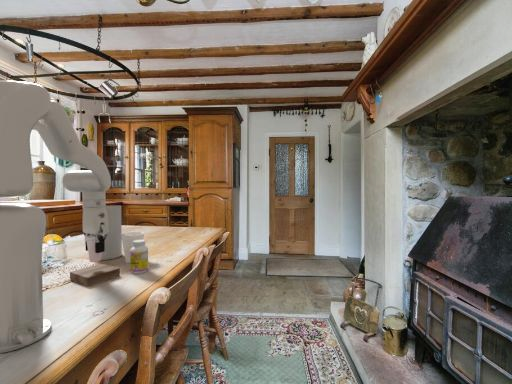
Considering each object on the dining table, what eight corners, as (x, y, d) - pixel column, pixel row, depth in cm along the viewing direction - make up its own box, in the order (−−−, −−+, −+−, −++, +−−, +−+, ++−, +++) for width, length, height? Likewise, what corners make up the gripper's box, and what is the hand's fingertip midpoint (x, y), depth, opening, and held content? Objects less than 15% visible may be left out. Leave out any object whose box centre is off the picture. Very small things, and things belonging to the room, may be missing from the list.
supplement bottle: (126, 272, 106) (126, 241, 105) (140, 268, 112) (140, 238, 111) (137, 275, 103) (137, 243, 102) (151, 270, 109) (151, 240, 108)
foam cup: (119, 260, 122) (119, 233, 122) (140, 257, 128) (139, 231, 128) (125, 265, 115) (125, 236, 115) (146, 261, 121) (146, 233, 121)
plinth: (119, 275, 102) (119, 268, 102) (87, 286, 92) (87, 277, 92) (102, 270, 108) (102, 263, 108) (70, 279, 98) (69, 272, 97)
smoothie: (95, 263, 96) (95, 226, 96) (81, 262, 97) (80, 225, 97) (108, 258, 102) (108, 223, 102) (95, 257, 104) (94, 222, 103)
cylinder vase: (127, 255, 130) (126, 206, 130) (101, 262, 120) (100, 208, 119) (112, 252, 137) (112, 205, 136) (87, 258, 126) (86, 207, 125)
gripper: (117, 204, 98) (118, 252, 99) (91, 202, 106) (92, 246, 107) (97, 206, 91) (97, 256, 92) (71, 204, 100) (72, 250, 101)
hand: (95, 250), depth 100 cm, fingers closed on smoothie, 5 cm apart
